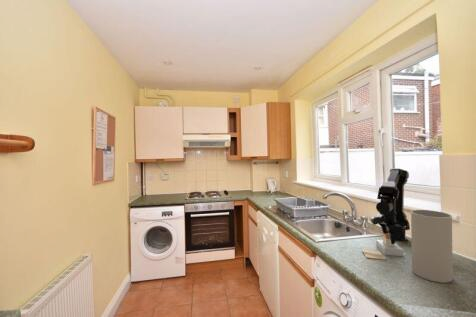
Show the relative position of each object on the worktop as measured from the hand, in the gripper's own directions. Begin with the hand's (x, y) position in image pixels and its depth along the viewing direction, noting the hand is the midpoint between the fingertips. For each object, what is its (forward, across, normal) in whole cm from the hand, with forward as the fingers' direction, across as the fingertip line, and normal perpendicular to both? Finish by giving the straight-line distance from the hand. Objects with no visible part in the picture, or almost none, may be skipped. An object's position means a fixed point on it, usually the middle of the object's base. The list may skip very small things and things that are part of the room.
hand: (388, 240), depth 116 cm
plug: (+5, 0, 0) cm, 5 cm away
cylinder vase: (+5, +23, +7) cm, 25 cm away
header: (+5, 0, 0) cm, 5 cm away
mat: (+5, +8, -10) cm, 13 cm away
